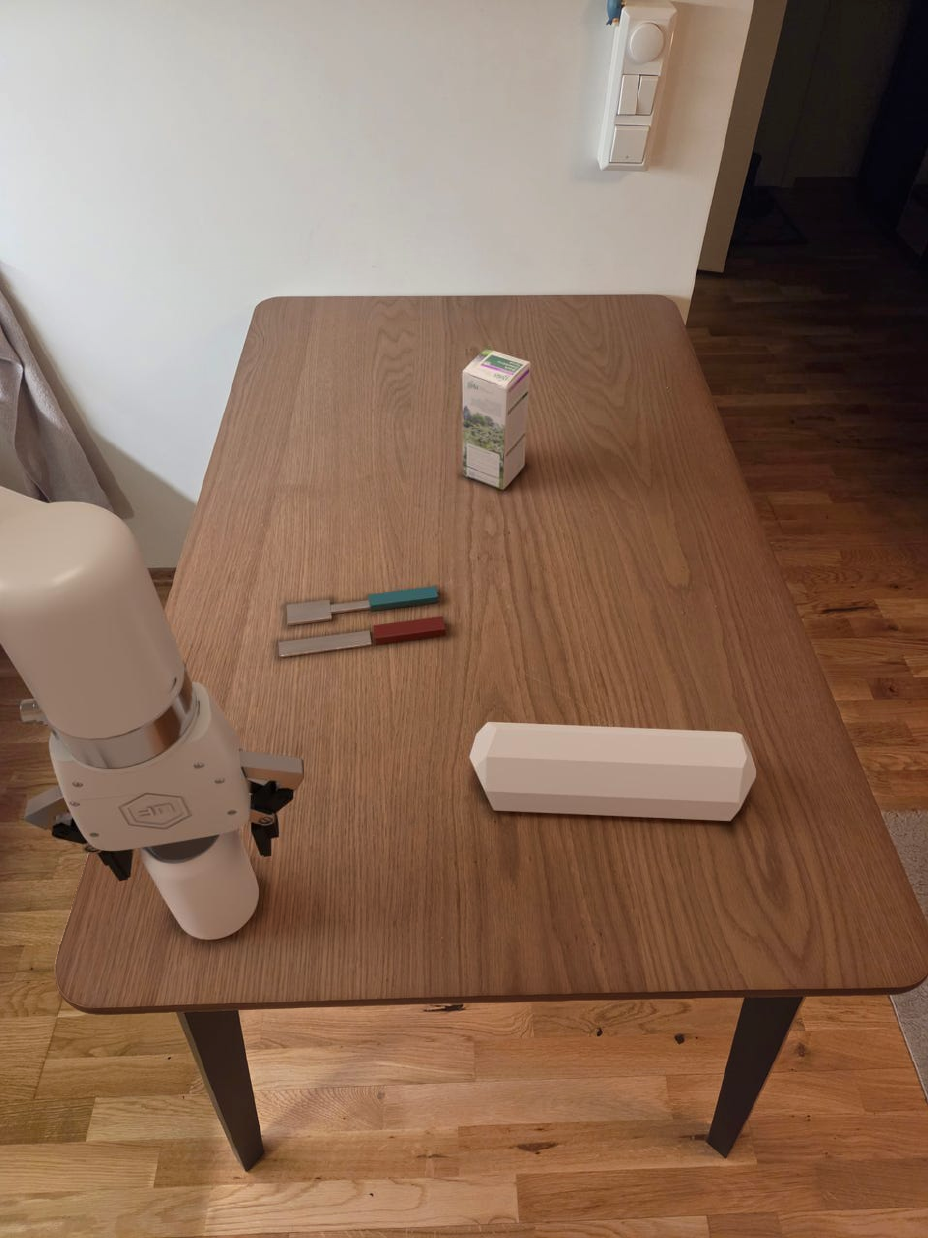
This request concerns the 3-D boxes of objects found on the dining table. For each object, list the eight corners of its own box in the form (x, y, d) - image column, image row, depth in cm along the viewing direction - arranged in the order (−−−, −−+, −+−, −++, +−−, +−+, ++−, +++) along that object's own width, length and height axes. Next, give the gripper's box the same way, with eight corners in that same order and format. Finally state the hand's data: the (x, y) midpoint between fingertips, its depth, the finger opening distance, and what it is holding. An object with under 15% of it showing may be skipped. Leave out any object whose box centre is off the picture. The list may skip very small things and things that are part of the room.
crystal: (747, 708, 75) (472, 697, 76) (772, 744, 68) (469, 731, 69) (736, 784, 77) (469, 772, 78) (760, 827, 70) (466, 813, 71)
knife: (279, 657, 84) (278, 651, 83) (278, 644, 85) (277, 637, 84) (445, 635, 86) (445, 629, 85) (442, 622, 87) (442, 615, 86)
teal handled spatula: (288, 625, 86) (286, 619, 86) (287, 607, 88) (285, 601, 88) (439, 606, 88) (439, 600, 88) (435, 588, 90) (435, 582, 89)
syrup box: (525, 466, 104) (533, 358, 93) (502, 493, 101) (507, 384, 90) (485, 451, 106) (487, 344, 95) (460, 477, 103) (460, 369, 92)
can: (172, 875, 68) (129, 797, 59) (254, 853, 70) (224, 773, 61) (179, 953, 64) (134, 881, 55) (266, 928, 66) (235, 853, 57)
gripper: (-54, 785, 45) (63, 922, 57) (282, 733, 47) (323, 877, 59) (-25, 674, 50) (77, 823, 62) (278, 632, 52) (316, 785, 64)
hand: (197, 849), depth 61 cm, fingers open, 9 cm apart
